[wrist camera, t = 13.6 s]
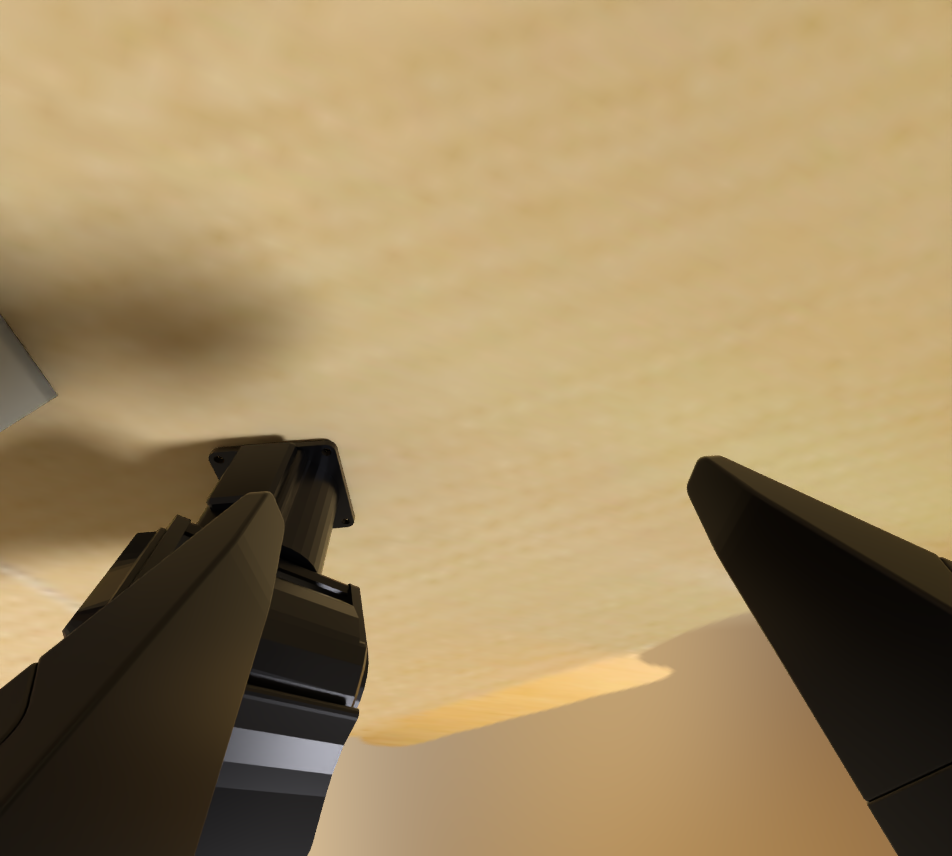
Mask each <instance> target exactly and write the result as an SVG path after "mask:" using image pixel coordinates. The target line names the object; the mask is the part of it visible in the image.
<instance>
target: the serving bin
mask: <svg viewBox="0 0 952 856" xmlns="http://www.w3.org/2000/svg"><path fill="white" fill-rule="evenodd" d="M56 396H58V395H57V394H56V392H55V391H54V390H53V388H52V387H51V385H50V384H49V383H48V381H47V380H46V378H45V377H44V375H43V374H42V373H41V371H40V370H39V368H38V367H37V366H36V364H35V363H34V361H33V360H32V358H31V357H30V356H29V354H28V353H27V351H26V350H25V349H24V347H23V346H22V344H21V343H20V341H19V340H18V339H17V337H16V336H15V334H14V333H13V332H12V330H11V329H10V327H9V326H8V325H7V323H6V322H5V320H4V319H3V317H2V316H1V315H0V432H1V431H3V430H4V429H6V428H8V427H9V426H11V425H12V424H14V423H15V422H17V421H19V420H20V419H22V418H23V417H25V416H26V415H28V414H30V413H31V412H33V411H34V410H36V409H37V408H39V407H41V406H42V405H44V404H45V403H47V402H48V401H50V400H52V399H53V398H55V397H56Z"/></svg>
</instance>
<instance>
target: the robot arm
mask: <svg viewBox="0 0 952 856" xmlns="http://www.w3.org/2000/svg"><path fill="white" fill-rule="evenodd" d="M325 448H326V449H329V450H331V451H325V450H324V449H325ZM218 456H221V457H223V458H224V459H221V458H219V457H218ZM208 458H209V461H210V463H211V465H212V467H213V469H214V471H215V473H216V475H217V477H218V479H219V482H218V483H217V485H216V486H215V488H214V490H213V491H212V493H211V494H210V496H209V497H208V499H207V502H206V503H207V505H208V506H207V508H206V510H205V511H204V513H203V514H202V516H201V518H200V519H199V521H198V522H197V524H193V523H191V522H190V521H191V520H190V519H187V518H185V517H182V516H180V515H177V516H176V517H175V518H174V519H173V521H172V522H171V523H170V524H169V526H168V527H167V528H166V529H164V528H160V529H159V530H157V531H156V532H145V533H137V534H136V536H135V537H134V538H133V539H132V541H131V542H130V543H129V545H128V546H127V547H126V549H125V550H124V551H123V552H122V554H121V555H120V556H119V558H118V559H117V560H116V562H115V563H114V564H113V566H112V567H111V568H110V569H109V571H108V572H107V573H106V575H105V576H104V577H103V578H102V580H101V581H100V582H99V584H98V585H97V586H96V588H95V589H94V590H93V591H92V593H91V594H90V595H89V597H88V598H87V599H86V601H85V602H84V603H83V604H82V606H81V607H80V608H79V610H78V611H77V612H76V614H75V615H74V616H73V617H72V619H71V620H70V621H69V623H68V624H67V625H66V627H65V628H64V629H63V631H62V632H63V636H64V639H63V640H62V641H60V642H59V643H58V644H57V645H55V646H54V647H53V648H52V649H50V650H49V651H48V652H46V653H45V654H44V655H43V656H41V657H40V659H39V661H38V663H33V664H31V665H30V666H29V667H27V668H26V669H25V670H24V671H22V672H21V673H20V674H19V675H17V676H16V677H15V678H14V679H12V680H11V681H10V682H9V683H7V684H6V685H5V686H3V687H2V688H1V689H0V856H307V855H308V853H309V851H310V849H311V846H312V843H313V840H314V836H315V832H316V829H317V825H318V821H319V818H320V814H321V810H322V807H323V803H324V800H325V796H326V792H327V789H328V786H329V783H330V779H331V776H332V773H333V771H334V768H335V766H336V763H337V761H338V758H339V756H340V753H341V751H342V748H343V746H344V744H345V742H346V740H347V738H348V736H349V734H350V732H351V730H352V729H353V727H354V725H355V723H356V721H357V719H358V716H359V709H358V708H357V707H358V705H359V702H360V700H361V697H362V694H363V691H364V687H365V683H366V678H367V673H368V663H369V662H368V648H367V641H366V633H365V625H364V618H363V610H362V603H361V595H360V588H359V587H357V586H354V585H352V584H348V585H346V584H344V583H341V582H339V581H336V580H334V579H331V578H329V577H326V576H324V575H321V574H322V569H323V565H324V561H325V557H326V553H327V549H328V544H329V540H330V536H331V532H332V528H342V527H349V526H352V525H353V523H354V519H355V515H354V511H353V507H352V503H351V499H350V495H349V491H348V488H347V484H346V480H345V476H344V472H343V468H342V464H341V460H340V456H339V452H338V448H337V446H336V444H335V443H334V442H331V441H327V440H325V441H310V442H296V443H291V442H284V443H269V444H254V445H243V446H237V447H222V448H215V449H214V450H213V451H212V452H211V454H210V455H209V457H208ZM687 492H688V496H689V498H690V500H691V502H692V504H693V506H694V508H695V510H696V512H697V515H698V517H699V519H700V521H701V523H702V525H703V527H704V529H705V531H706V533H707V535H708V538H709V540H710V542H711V544H712V546H713V548H714V550H715V552H716V554H717V556H718V558H719V559H720V561H721V563H722V565H723V566H724V568H725V570H726V571H727V573H728V575H729V576H730V578H731V580H732V581H733V583H734V584H735V586H736V588H737V589H738V591H739V593H740V594H741V596H742V598H743V599H744V601H745V603H746V604H747V606H748V608H749V609H750V611H751V613H752V614H753V616H754V618H755V619H756V621H757V623H758V624H759V626H760V628H761V629H762V631H763V633H764V634H765V636H766V637H767V639H768V641H769V642H770V644H771V646H772V647H773V649H774V651H775V652H776V654H777V656H778V657H779V659H780V660H781V662H782V664H783V665H784V667H785V669H786V671H787V672H788V674H789V676H790V677H791V679H792V680H793V682H794V684H795V685H796V687H797V689H798V690H799V692H800V694H801V695H802V697H803V698H804V700H805V702H806V703H807V705H808V707H809V709H810V710H811V712H812V713H813V715H814V717H815V718H816V720H817V722H818V724H819V725H820V727H821V729H822V730H823V732H824V734H825V735H826V737H827V738H828V740H829V742H830V743H831V745H832V747H833V748H834V750H835V752H836V753H837V755H838V757H839V758H840V760H841V762H842V763H843V765H844V767H845V768H846V770H847V771H848V773H849V775H850V776H851V778H852V780H853V782H854V783H855V785H856V787H857V788H858V790H859V791H860V793H861V795H862V796H863V798H864V799H865V800H866V801H867V805H868V807H869V809H870V810H871V812H872V814H873V815H874V817H875V819H876V820H877V822H878V824H879V825H880V827H881V829H882V830H883V832H884V834H885V835H886V837H887V839H888V840H889V842H890V843H891V845H892V847H893V848H894V850H895V852H896V853H897V855H898V856H952V561H950V560H948V559H945V558H943V557H938V556H937V555H936V554H934V553H932V552H930V551H928V550H926V549H923V548H921V547H919V546H917V545H915V544H912V543H910V542H908V541H906V540H904V539H902V538H899V537H897V536H895V535H893V534H891V533H888V532H886V531H884V530H882V529H880V528H878V527H875V526H873V525H871V524H869V523H867V522H864V521H862V520H860V519H858V518H856V517H854V516H851V515H849V514H847V513H845V512H843V511H840V510H838V509H836V508H834V507H832V506H830V505H827V504H825V503H823V502H821V501H819V500H816V499H814V498H812V497H810V496H808V495H806V494H803V493H801V492H799V491H797V490H795V489H792V488H790V487H788V486H786V485H784V484H782V483H779V482H777V481H775V480H773V479H771V478H768V477H766V476H764V475H762V474H760V473H758V472H755V471H753V470H751V469H749V468H747V467H744V466H742V465H740V464H738V463H736V462H734V461H731V460H729V459H727V458H725V457H722V456H704V457H701V458H700V459H698V460H697V462H696V465H695V467H694V469H693V472H692V474H691V476H690V479H689V481H688V484H687ZM346 519H348V520H346Z"/></svg>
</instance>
